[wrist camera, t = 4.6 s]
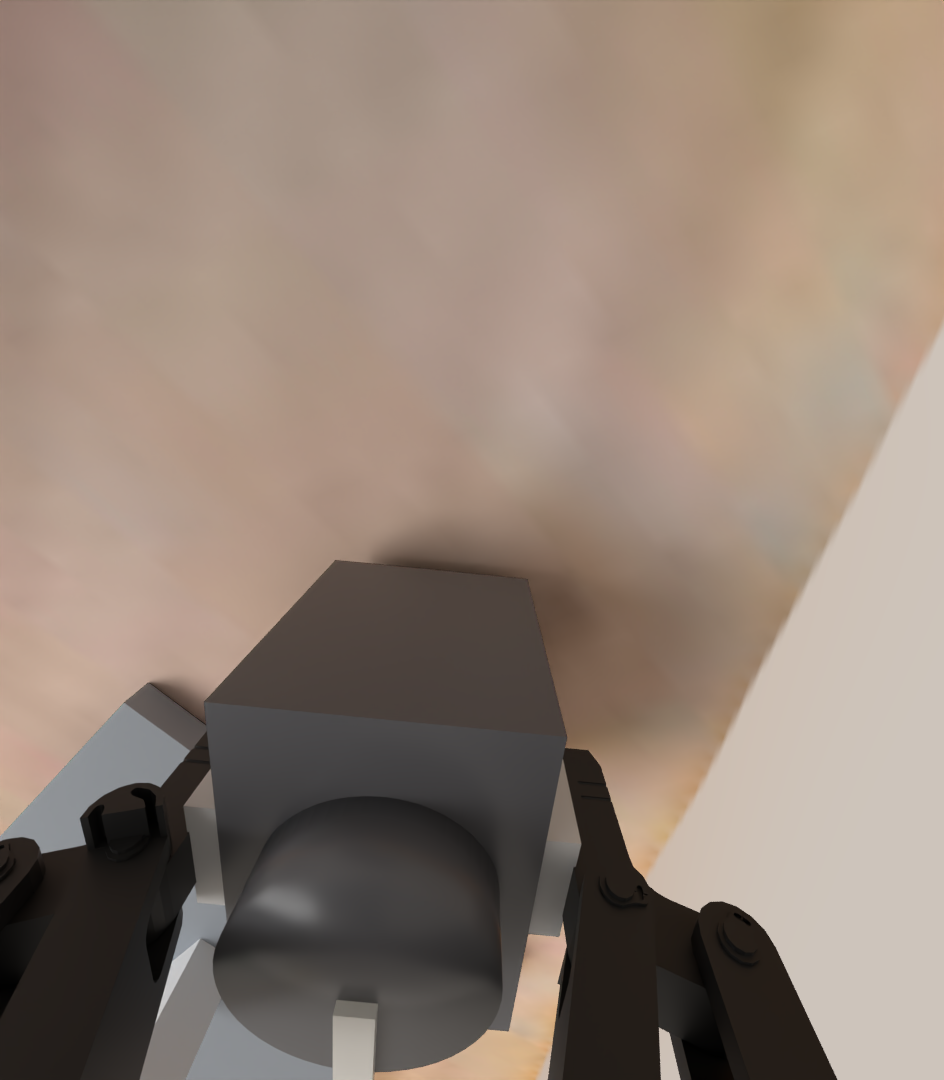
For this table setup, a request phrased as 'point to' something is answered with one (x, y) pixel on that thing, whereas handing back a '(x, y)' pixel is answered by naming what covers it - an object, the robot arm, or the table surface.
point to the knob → (383, 815)
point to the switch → (190, 992)
